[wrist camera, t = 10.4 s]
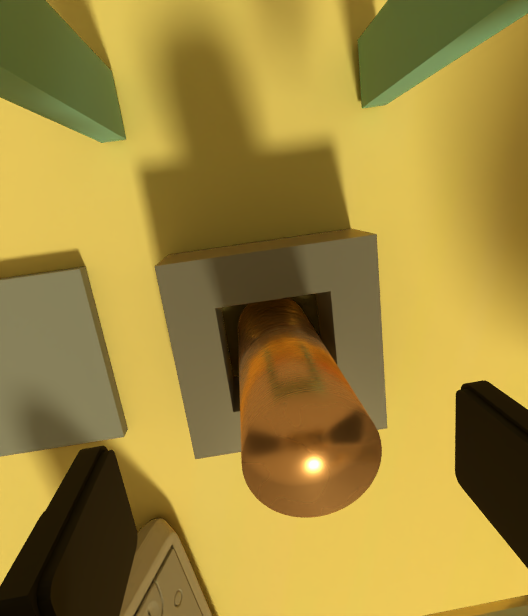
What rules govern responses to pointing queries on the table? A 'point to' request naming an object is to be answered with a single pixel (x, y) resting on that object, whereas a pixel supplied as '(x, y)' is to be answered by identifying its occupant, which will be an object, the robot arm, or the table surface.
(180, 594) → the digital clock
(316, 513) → the cylinder
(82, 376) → the mat
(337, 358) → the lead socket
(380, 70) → the green arch
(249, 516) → the table surface
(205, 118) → the table surface
